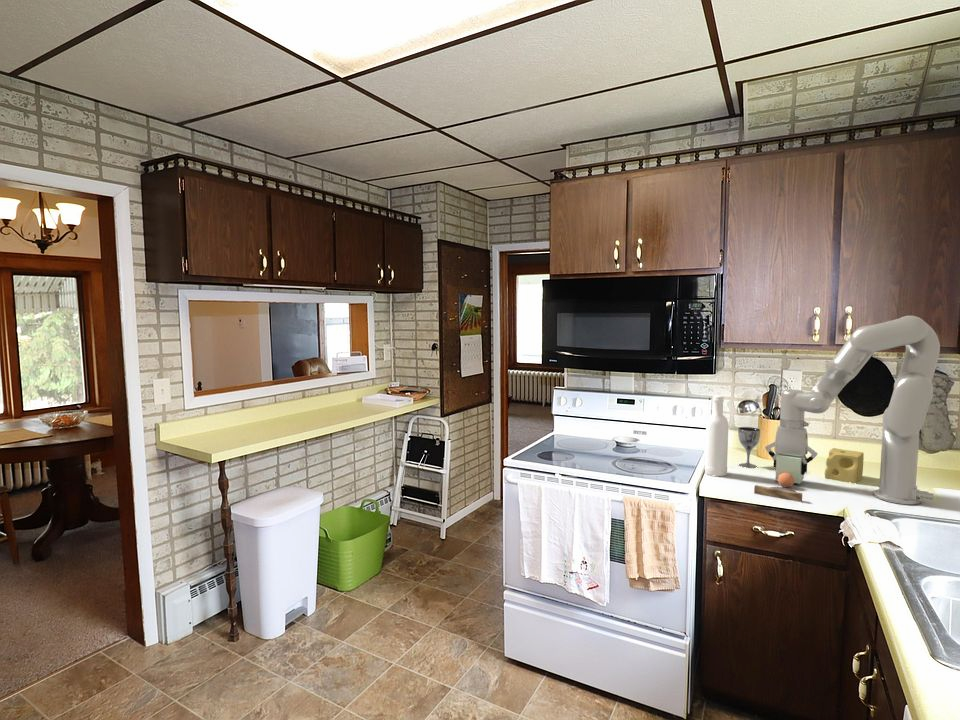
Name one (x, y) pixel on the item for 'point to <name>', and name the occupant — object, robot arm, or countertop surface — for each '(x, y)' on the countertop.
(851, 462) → the cheese
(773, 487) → the spot
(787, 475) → the ball
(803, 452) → the robot arm
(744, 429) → the wine glass
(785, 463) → the pale green cube
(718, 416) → the bottle
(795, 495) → the brown wooden bar
